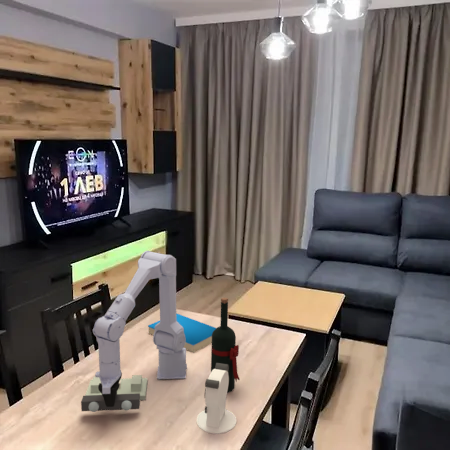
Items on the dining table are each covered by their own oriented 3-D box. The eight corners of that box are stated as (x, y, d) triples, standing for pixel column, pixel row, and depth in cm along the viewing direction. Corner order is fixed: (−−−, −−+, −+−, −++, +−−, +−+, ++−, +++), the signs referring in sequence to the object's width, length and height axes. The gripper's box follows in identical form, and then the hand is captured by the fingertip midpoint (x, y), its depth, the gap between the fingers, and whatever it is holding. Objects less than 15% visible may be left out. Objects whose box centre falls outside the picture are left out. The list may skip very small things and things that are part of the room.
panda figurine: (204, 404, 134) (205, 358, 131) (241, 411, 132) (242, 364, 128) (190, 429, 123) (191, 379, 120) (230, 437, 120) (231, 387, 117)
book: (193, 344, 165) (147, 324, 179) (193, 355, 166) (147, 334, 180) (222, 329, 178) (177, 312, 193) (222, 339, 179) (177, 321, 194)
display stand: (147, 382, 146) (147, 370, 145) (145, 400, 136) (144, 388, 135) (90, 383, 144) (90, 372, 143) (84, 402, 134) (83, 390, 133)
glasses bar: (140, 402, 130) (140, 393, 129) (139, 410, 126) (138, 400, 126) (83, 404, 128) (83, 395, 128) (81, 412, 125) (80, 403, 124)
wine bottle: (229, 399, 137) (232, 307, 131) (205, 387, 144) (206, 298, 137) (245, 388, 143) (248, 300, 137) (221, 377, 149) (223, 292, 143)
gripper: (99, 346, 131) (101, 388, 134) (89, 372, 117) (92, 418, 120) (123, 346, 132) (125, 387, 135) (117, 372, 118) (118, 417, 121)
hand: (111, 402), depth 127 cm, fingers closed on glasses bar, 3 cm apart
